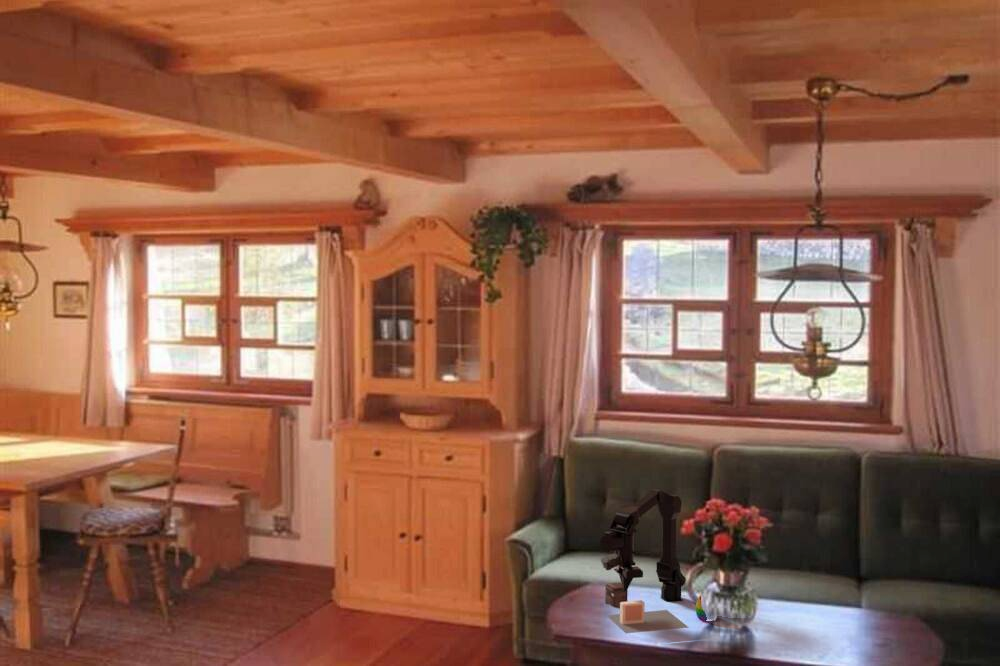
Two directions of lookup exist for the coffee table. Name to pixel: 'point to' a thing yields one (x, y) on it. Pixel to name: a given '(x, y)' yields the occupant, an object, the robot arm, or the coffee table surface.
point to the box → (615, 594)
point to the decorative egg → (700, 610)
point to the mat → (650, 622)
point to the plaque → (632, 612)
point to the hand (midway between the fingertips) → (624, 590)
